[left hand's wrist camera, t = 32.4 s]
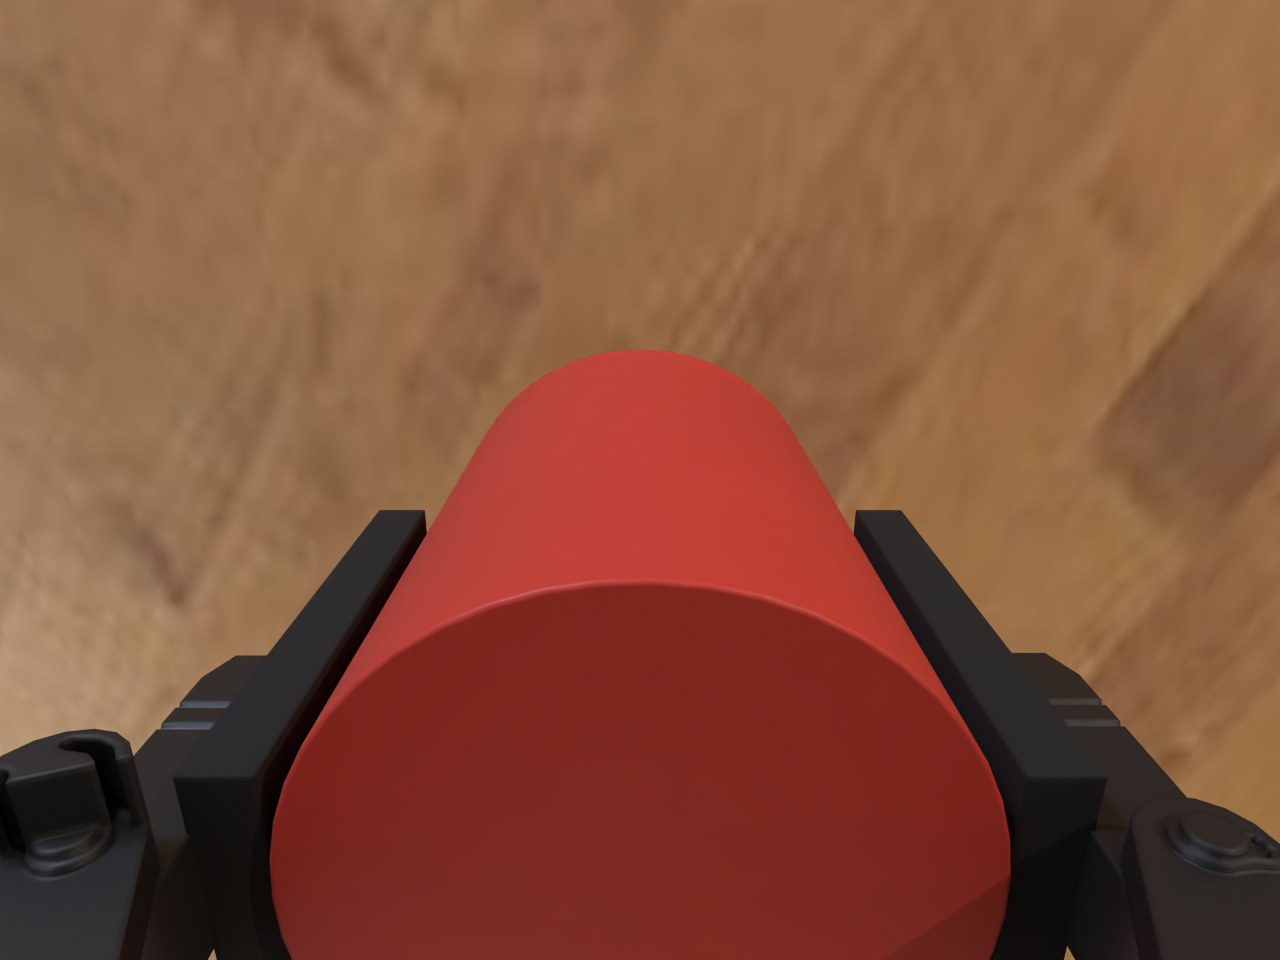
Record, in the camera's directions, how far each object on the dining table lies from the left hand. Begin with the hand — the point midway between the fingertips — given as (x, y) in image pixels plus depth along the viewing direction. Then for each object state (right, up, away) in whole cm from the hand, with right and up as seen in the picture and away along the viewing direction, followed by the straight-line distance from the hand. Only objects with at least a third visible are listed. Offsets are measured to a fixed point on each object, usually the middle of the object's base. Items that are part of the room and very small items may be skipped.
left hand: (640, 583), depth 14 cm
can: (0, +1, +3) cm, 3 cm away
